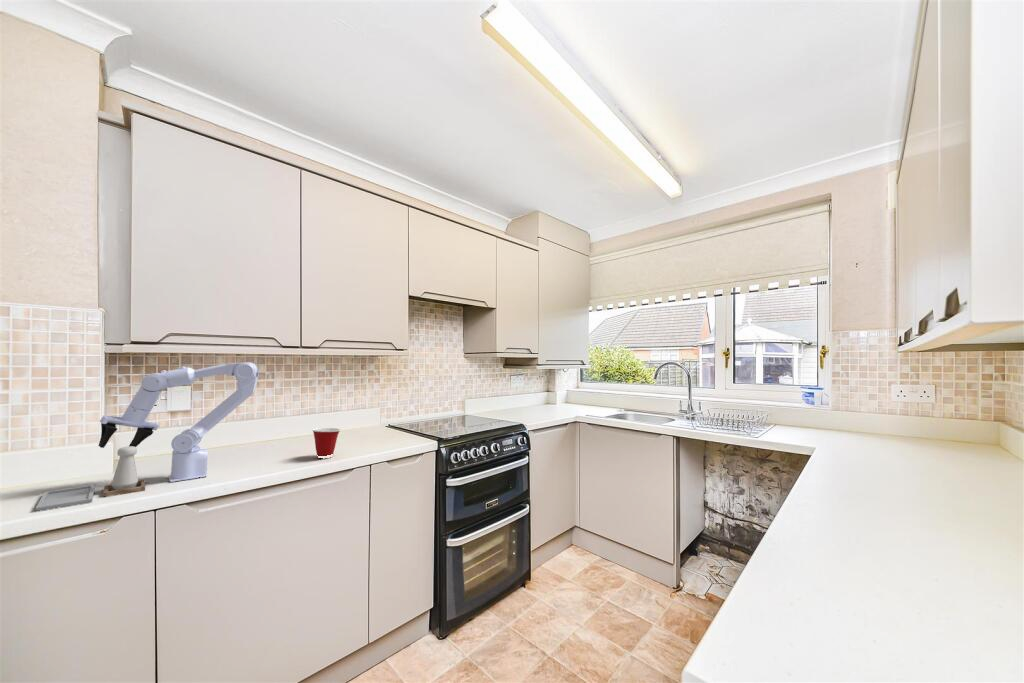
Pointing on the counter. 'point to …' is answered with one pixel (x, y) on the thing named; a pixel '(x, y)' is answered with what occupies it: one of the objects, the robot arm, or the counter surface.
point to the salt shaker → (125, 469)
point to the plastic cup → (325, 440)
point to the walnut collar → (124, 489)
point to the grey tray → (66, 497)
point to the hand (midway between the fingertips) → (116, 448)
